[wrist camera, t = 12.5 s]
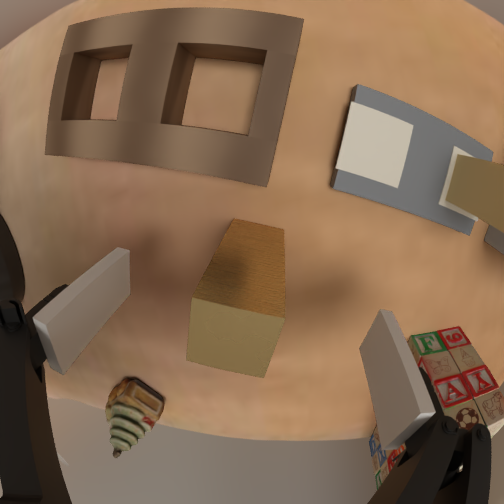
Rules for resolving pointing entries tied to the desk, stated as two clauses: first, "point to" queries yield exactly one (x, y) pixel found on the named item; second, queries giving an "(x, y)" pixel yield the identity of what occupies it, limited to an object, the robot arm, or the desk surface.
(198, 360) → the brass pin
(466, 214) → the board
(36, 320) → the robot arm
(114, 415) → the ornament
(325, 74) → the desk surface
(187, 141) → the socket board
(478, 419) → the stack of blocks
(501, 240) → the block
